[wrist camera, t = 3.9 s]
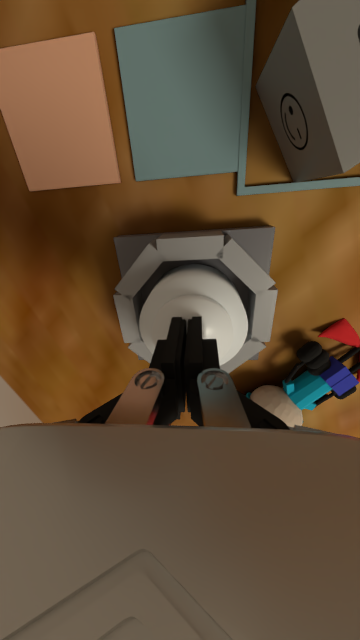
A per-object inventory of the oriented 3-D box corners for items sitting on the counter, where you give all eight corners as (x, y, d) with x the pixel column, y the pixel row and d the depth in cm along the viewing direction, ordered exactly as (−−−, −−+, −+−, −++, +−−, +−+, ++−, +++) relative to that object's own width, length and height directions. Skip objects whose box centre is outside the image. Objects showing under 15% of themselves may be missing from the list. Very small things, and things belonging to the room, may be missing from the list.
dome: (243, 261, 13) (256, 279, 10) (237, 346, 16) (245, 379, 13) (142, 266, 14) (126, 284, 11) (155, 346, 17) (145, 378, 14)
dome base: (270, 225, 14) (286, 231, 11) (255, 352, 18) (264, 377, 16) (118, 235, 15) (100, 242, 12) (141, 352, 19) (132, 376, 17)
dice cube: (254, 87, 11) (292, 7, 6) (365, -14, 9) (522, -218, 5) (293, 183, 12) (343, 173, 8) (392, 114, 11) (523, 55, 6)
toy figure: (322, 303, 17) (193, 407, 21) (379, 331, 13) (202, 457, 17) (360, 353, 20) (240, 438, 24) (418, 391, 16) (258, 488, 19)
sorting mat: (479, -84, 8) (487, -92, 8) (389, 183, 12) (393, 182, 12) (-29, 18, 10) (-34, 14, 10) (38, 212, 14) (36, 212, 14)
